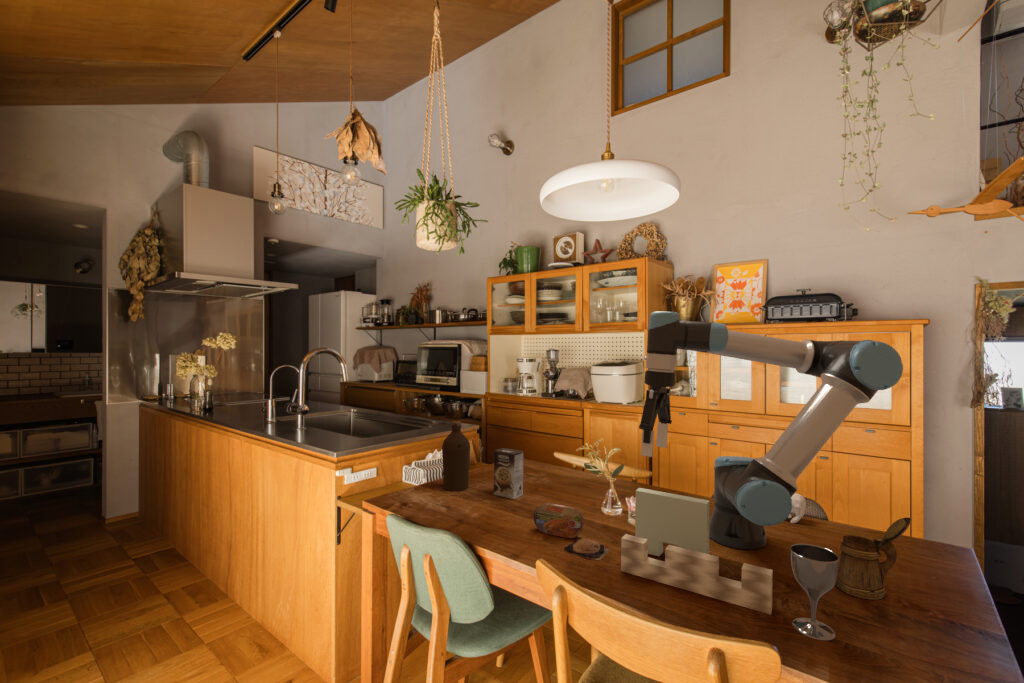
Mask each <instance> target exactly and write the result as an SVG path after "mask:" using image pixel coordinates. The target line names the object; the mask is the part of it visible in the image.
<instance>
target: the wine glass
mask: <svg viewBox="0 0 1024 683" xmlns="http://www.w3.org/2000/svg"><path fill="white" fill-rule="evenodd" d="M789 549H790V550H789V551H790V552H789V553H790V554H789V555H790V564H791V570H792V574H793V576H794V579H795V580H796V581H797V583H798V584H799V585H800V587H801V588H802V589H803V591H804V592H805V593H806V595H807V597H808V599H809V605H810V614H811V615H810V616H811V617H809V618H808V617H796V618H794V619H793V620H792V622H791V624H792V627H793V628H794V629H795V631H797V632H798V633H800V634H802V635H804V636H806V637H808V638H811V639H813V640H818V641H832V640H834V639H835V638H836V633H835V631H834V630H833V628H832V627H830V626H829V625H828V624H826V623H824V622H821V621H819V620H817V616H816V615H817V608H818V602H819V600H820V598H822V596H824V595H825V594H826V593H828V592H830V591H831V590H832V589H833V588H834V587H835V586H836V585H835V583H836V580H837V576H838V570H839V564H840V558H839V556H838V554H837V553H836V552H835V551H833V550H832V549H831V550H830V549H829V548H826V547H824V546H819V545H817V544H810V543H800V542H798V543H795V544H794V543H793V544H791V546H790V548H789Z"/></svg>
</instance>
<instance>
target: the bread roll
mask: <svg viewBox="0 0 1024 683" xmlns="http://www.w3.org/2000/svg"><path fill="white" fill-rule="evenodd" d="M563 549H564V550H563V552H565V553H567V554H571V555H573V556H577V557H580V558H584V559H586V560H587V559H589V560H594V561H597V562H600V561H601V560H602V559H603V558H605V556H606V555H607V554H609V552H610V549H608V548H605V546H604V544H600V542H597V541H596V540H593V539H589V538H581V537H580V538H579V537H578V538H576V540H573V543H569V544H568V545H566V547H564V548H563Z"/></svg>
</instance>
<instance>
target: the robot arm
mask: <svg viewBox="0 0 1024 683" xmlns="http://www.w3.org/2000/svg"><path fill="white" fill-rule="evenodd" d="M646 346H647V347H646V356H644V358H643V359H644V360H645V368H646V370H645V372H644V384H645V385H646V386H647V385H648V386H651V387H650V389H646V393H645V394H646V395H645V400H644V406H643V409H642V410H643V411H642V416H641V419H640V424H639V425H638V429H640V430H642V434H641V446H640V447H641V448H640V456H645V457H649V458H653V452H654V438H655V430H654V429H655V428H654V427H655V424H656V421H657V418H658V422H657V424H656V425H657V426H656V439H655V447H658V448H661V449H662V448H663V449H667V448H668V447H667V446H668V433H669V432H668V431H669V425H671V424H672V422H673V419H672V416H671V401H670V399H671V398H670V395H671V393H670V392H671V388H673V387H674V386H675V383H676V382H675V381H676V379H675V378H676V374H675V372H674V371H676V370H677V353H678V352H677V351H678V350H684V351H692V352H699V353H705V354H711V355H716V356H717V355H718V356H722V357H728V358H735V359H739V360H744V361H751V362H757V363H763V364H768V365H773V366H779V367H786V368H791V369H795V370H796V371H797V373H798V374H802V375H803V374H804V375H809V376H813V377H817V378H820V380H821V384H820V386H818V388H817V390H815V392H814V393H813V395H812V396H811V397H810V398H809V400H808V401H807V402H806V404H805V405H804V406H803V407H802V408H801V410H800V411H799V412H798V413H797V415H796V416H795V417H794V419H793V420H792V421H791V422H790V423H789V425H788V426H787V427H786V428H785V430H784V431H783V432H782V434H781V435H780V436H778V439H777V440H776V441H775V442H774V443H773V445H772V446H771V447H770V449H769V450H768V451H767V452H766V453H765V455H764V456H762V457H747V456H738V455H737V456H733V455H730V456H729V455H722V456H718V457H716V458H715V459H714V465H713V469H714V471H713V472H714V478H713V479H714V481H713V483H714V490H713V492H714V495H713V496H714V497H713V498H714V500H713V501H714V504H713V510H712V512H711V515H710V517H709V539H711V540H713V541H714V542H716V543H718V544H721V545H723V546H727V547H730V548H734V549H739V550H740V549H741V550H759V549H762V548H764V547H766V545H767V533H766V531H765V528H764V527H773V526H776V525H779V524H781V523H783V522H784V521H786V520H787V519H788V516H789V515H790V514H792V513H791V510H792V499H791V497H792V496H793V495H794V493H797V491H798V484H797V479H799V477H800V476H801V474H802V473H803V472H804V470H805V469H806V468H807V466H809V464H810V463H811V462H812V461H813V459H814V458H815V457H816V456H817V454H818V453H819V452H820V451H821V450H822V449H823V447H824V446H825V445H826V443H827V442H828V441H829V440H830V438H831V437H832V436H833V435H834V433H835V432H836V431H837V430H838V429H839V427H840V426H841V425H842V423H843V422H844V421H845V420H846V419H847V417H848V416H849V415H850V413H851V412H852V411H853V410H854V409H855V408H856V406H857V405H859V404H860V405H861V404H865V403H866V404H867V403H870V401H871V400H872V399H873V397H874V396H875V395H876V394H877V392H879V391H884V390H888V389H890V388H893V387H894V386H895V385H897V384H898V383H899V381H900V380H901V378H902V375H903V371H904V364H903V362H902V358H901V356H900V354H899V353H898V351H897V350H896V349H895V348H894V347H893V346H891V345H890V344H888V343H886V342H883V341H879V340H878V341H877V340H873V339H864V340H863V339H862V340H813V339H803V340H802V341H797V340H790V339H786V338H785V339H784V338H778V337H774V336H773V337H772V336H766V335H760V334H754V333H749V332H743V331H742V332H741V331H738V330H730V329H728V327H727V325H726V324H724V323H721V322H714V321H711V322H710V321H690V320H682V319H681V318H680V314H679V313H678V312H676V311H667V310H666V311H665V310H663V311H659V310H658V311H655V310H654V311H653V312H651V313H650V314H649V321H648V327H647V342H646Z"/></svg>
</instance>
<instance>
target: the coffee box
mask: <svg viewBox="0 0 1024 683" xmlns="http://www.w3.org/2000/svg"><path fill="white" fill-rule="evenodd" d="M523 490H524V451H523V450H518V449H513V448H507V447H502V448H498V449H495V450H494V452H493V495H494V496H499V497H503V498H506V499H510V500H515V499H518V498H520V497H522V496H523V495H524V491H523Z"/></svg>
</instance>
